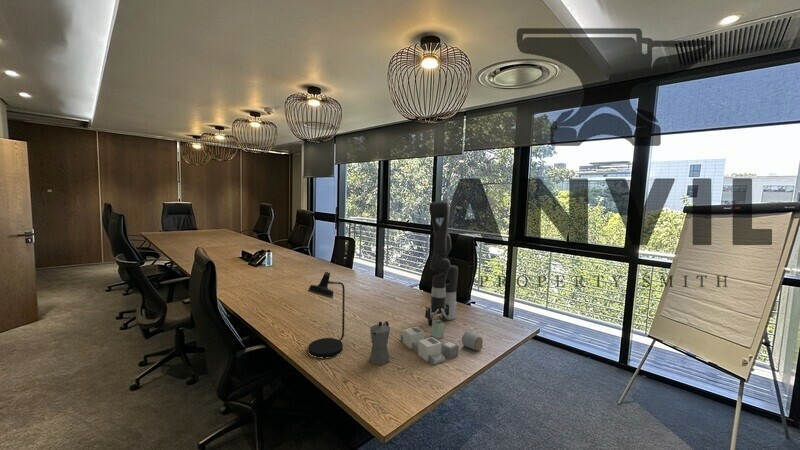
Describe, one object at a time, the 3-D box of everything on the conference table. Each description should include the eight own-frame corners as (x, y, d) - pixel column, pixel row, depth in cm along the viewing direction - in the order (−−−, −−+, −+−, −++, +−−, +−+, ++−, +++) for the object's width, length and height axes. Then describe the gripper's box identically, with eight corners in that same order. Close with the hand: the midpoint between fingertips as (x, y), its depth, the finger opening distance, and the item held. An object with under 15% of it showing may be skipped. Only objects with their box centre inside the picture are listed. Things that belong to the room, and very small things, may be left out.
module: (437, 333, 172) (438, 319, 171) (443, 337, 168) (444, 322, 167) (431, 335, 170) (432, 320, 169) (437, 339, 166) (437, 324, 165)
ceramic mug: (475, 353, 152) (476, 338, 151) (461, 347, 157) (461, 332, 157) (486, 347, 159) (487, 332, 158) (472, 341, 165) (473, 327, 164)
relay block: (448, 350, 154) (449, 340, 154) (458, 355, 150) (458, 344, 149) (440, 354, 150) (440, 343, 150) (450, 359, 146) (450, 348, 145)
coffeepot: (382, 369, 135) (383, 329, 133) (363, 364, 139) (364, 325, 137) (396, 353, 149) (397, 316, 148) (378, 349, 153) (379, 313, 151)
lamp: (298, 353, 147) (298, 272, 143) (332, 336, 165) (333, 264, 161) (323, 364, 138) (323, 278, 134) (355, 345, 156) (357, 269, 153)
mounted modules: (416, 339, 164) (416, 326, 164) (440, 357, 147) (441, 342, 146) (403, 342, 160) (403, 329, 159) (426, 361, 143) (427, 346, 142)
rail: (411, 336, 167) (411, 331, 167) (445, 361, 143) (445, 355, 143) (400, 339, 164) (400, 334, 163) (433, 365, 140) (433, 358, 140)
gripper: (444, 291, 174) (442, 320, 175) (423, 294, 166) (421, 324, 168) (453, 295, 167) (451, 324, 168) (431, 298, 160) (430, 329, 161)
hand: (436, 324), depth 168 cm, fingers open, 8 cm apart
